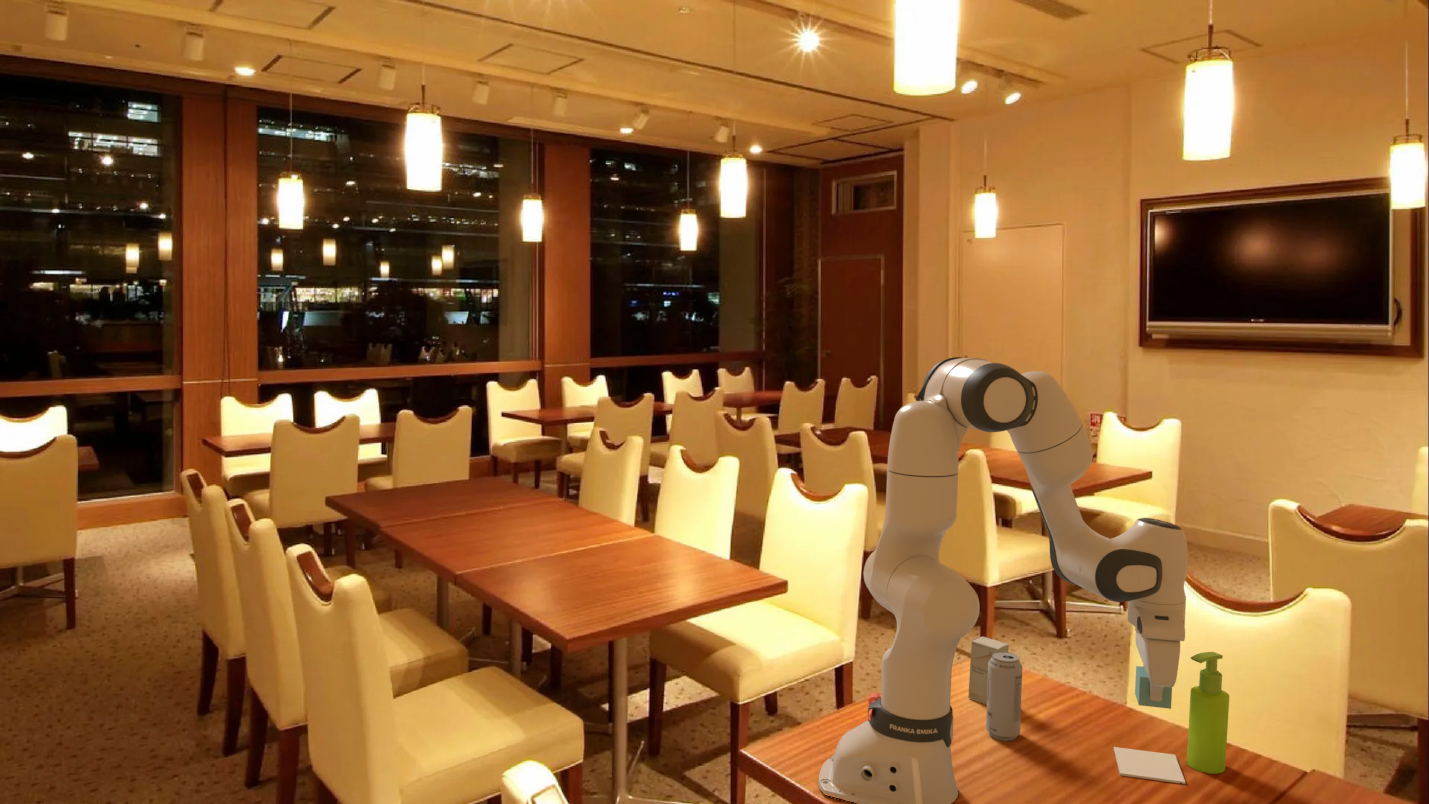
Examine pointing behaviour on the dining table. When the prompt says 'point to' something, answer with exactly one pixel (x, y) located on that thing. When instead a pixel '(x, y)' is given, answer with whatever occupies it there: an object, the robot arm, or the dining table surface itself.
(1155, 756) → the coaster
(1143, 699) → the block
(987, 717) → the energy drink can
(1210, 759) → the soap dispenser
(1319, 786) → the dining table surface
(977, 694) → the skincare box
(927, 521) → the robot arm
